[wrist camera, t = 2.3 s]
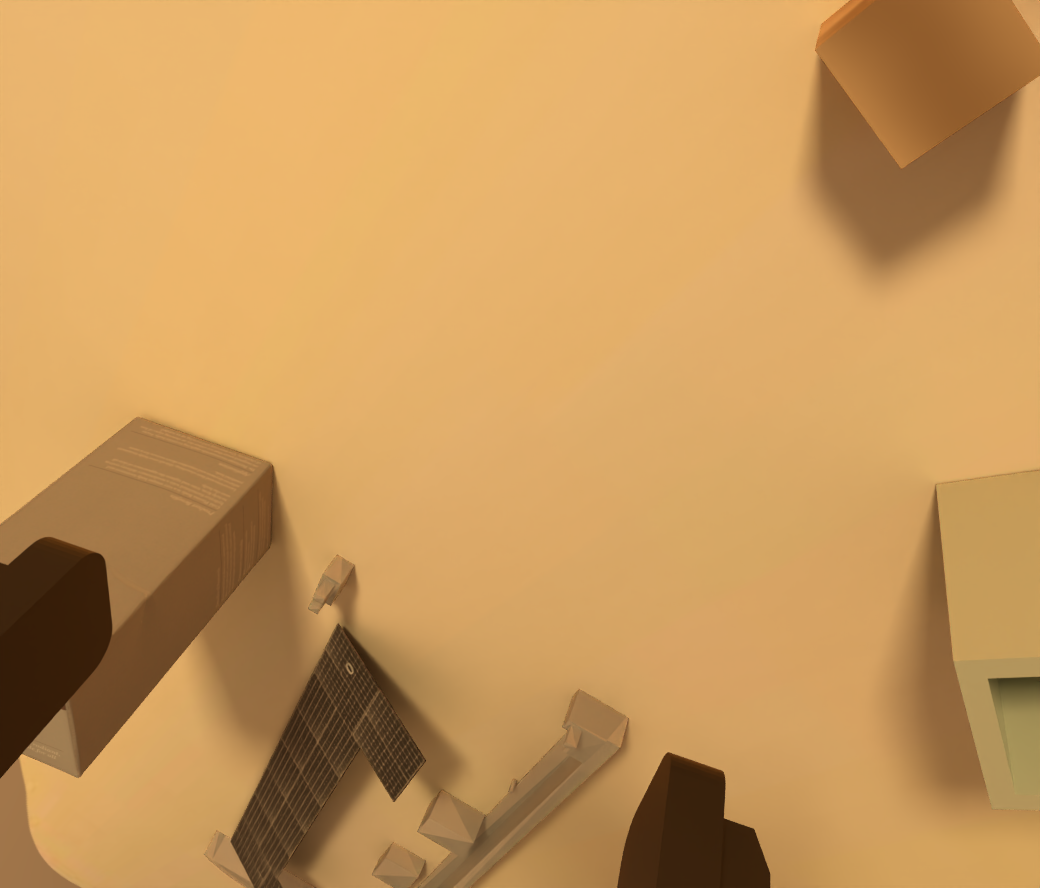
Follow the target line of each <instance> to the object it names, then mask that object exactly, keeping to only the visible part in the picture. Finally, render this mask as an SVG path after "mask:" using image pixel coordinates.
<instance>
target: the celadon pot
mask: <svg viewBox="0 0 1040 888" xmlns="http://www.w3.org/2000/svg"><path fill="white" fill-rule="evenodd" d="M936 490H937V500H938V510H939V521H940V531H941V541H942V551H943V562H944V572H945V582H946V593H947V603H948V613H949V623H950V634H951V644H952V654H953V662H954V666H955V670H956V674H957V678H958V681H959V685H960V689H961V693H962V697H963V701H964V704H965V708H966V712H967V716H968V720H969V723H970V727H971V731H972V735H973V739H974V743H975V746H976V750H977V754H978V758H979V762H980V766H981V769H982V773H983V777H984V781H985V785H986V788H987V792H988V796H989V800H990V804H991V808H992V809H997V810H1034V811H1040V470H1037V471H1030V472H1023V473H1016V474H1008V475H1001V476H994V477H987V478H979V479H972V480H965V481H958V482H950V483H943V484H936Z"/></svg>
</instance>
